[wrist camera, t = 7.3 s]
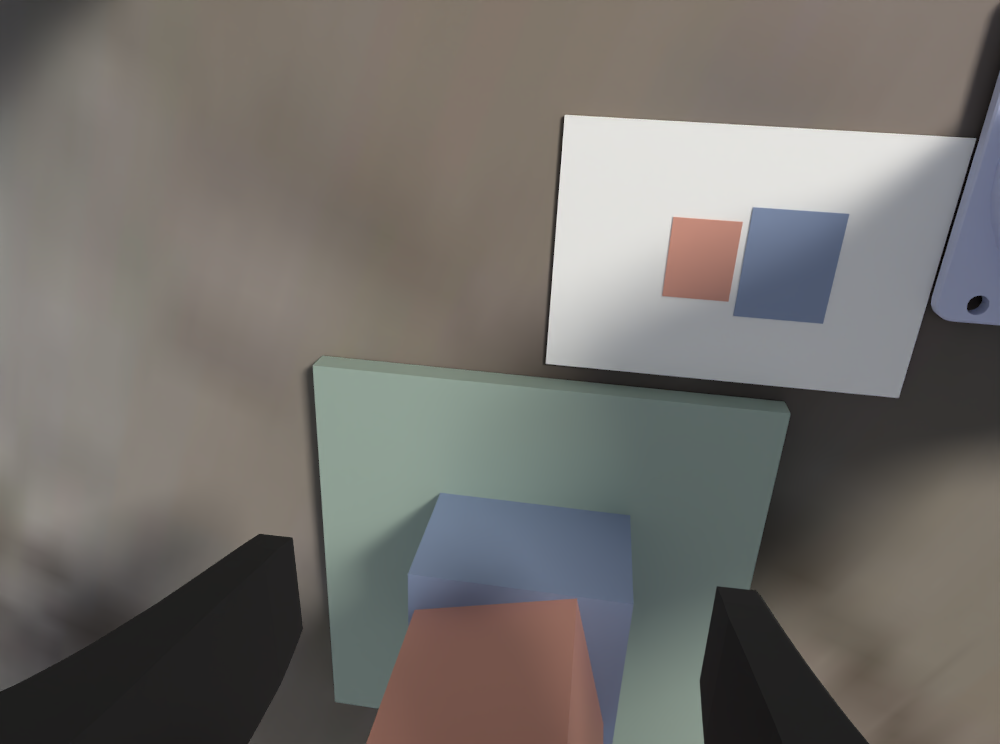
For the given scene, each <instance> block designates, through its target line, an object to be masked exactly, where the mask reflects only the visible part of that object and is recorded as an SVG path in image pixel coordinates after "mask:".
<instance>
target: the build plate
mask: <svg viewBox="0 0 1000 744" xmlns="http://www.w3.org/2000/svg"><path fill="white" fill-rule="evenodd" d="M313 378H314V393H315V408H316V423H317V438H318V453H319V468H320V483H321V498H322V513H323V529H324V544H325V559H326V574H327V589H328V604H329V619H330V634H331V649H332V664H333V679H334V694H335V702H338V703H345V704H351V705H358V706H364V707H370V708H377V709H379V707H380V704H381V701H382V699H383V696H384V693H385V690H386V688H387V685H388V682H389V679H390V676H391V674H392V671H393V668H394V665H395V663H396V660H397V657H398V654H399V652H400V649H401V646H402V643H403V641H404V638H405V635H406V632H407V630H408V572H409V570H410V567H411V565H412V562H413V560H414V557H415V555H416V552H417V550H418V547H419V545H420V542H421V540H422V537H423V535H424V532H425V530H426V527H427V525H428V522H429V520H430V517H431V515H432V513H433V510H434V508H435V505H436V503H437V500H438V498H439V495H440V493H447V494H456V495H464V496H472V497H481V498H489V499H497V500H506V501H514V502H523V503H531V504H539V505H548V506H556V507H564V508H573V509H581V510H589V511H598V512H606V513H615V514H623V515H630V525H631V550H632V576H633V601H634V605H633V612H632V618H631V625H630V631H629V638H628V644H627V651H626V657H625V664H624V671H623V677H622V684H621V690H620V697H619V703H618V710H617V716H616V723H615V730H614V736H613V743H612V744H704V735H703V723H702V709H701V694H700V676H701V670H702V665H703V659H704V654H705V648H706V643H707V637H708V632H709V626H710V621H711V615H712V610H713V604H714V599H715V593H716V588H717V586H721V587H730V588H738V589H747V590H750V586H751V581H752V577H753V573H754V568H755V564H756V560H757V556H758V551H759V547H760V543H761V539H762V534H763V530H764V526H765V521H766V517H767V513H768V509H769V504H770V500H771V496H772V491H773V487H774V483H775V479H776V474H777V470H778V466H779V461H780V457H781V453H782V449H783V444H784V440H785V436H786V432H787V427H788V423H789V419H790V412H789V410H788V408H787V406H786V404H785V402H784V401H774V400H764V399H754V398H743V397H733V396H723V395H713V394H703V393H693V392H683V391H673V390H663V389H653V388H643V387H633V386H623V385H613V384H603V383H592V382H582V381H572V380H562V379H552V378H542V377H532V376H522V375H512V374H502V373H492V372H482V371H472V370H462V369H451V368H441V367H431V366H421V365H411V364H401V363H391V362H381V361H371V360H361V359H351V358H341V357H331V356H322V357H321V358H320V359H319V360H318V361H317V362H316V363H315V364H314V365H313Z"/></svg>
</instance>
